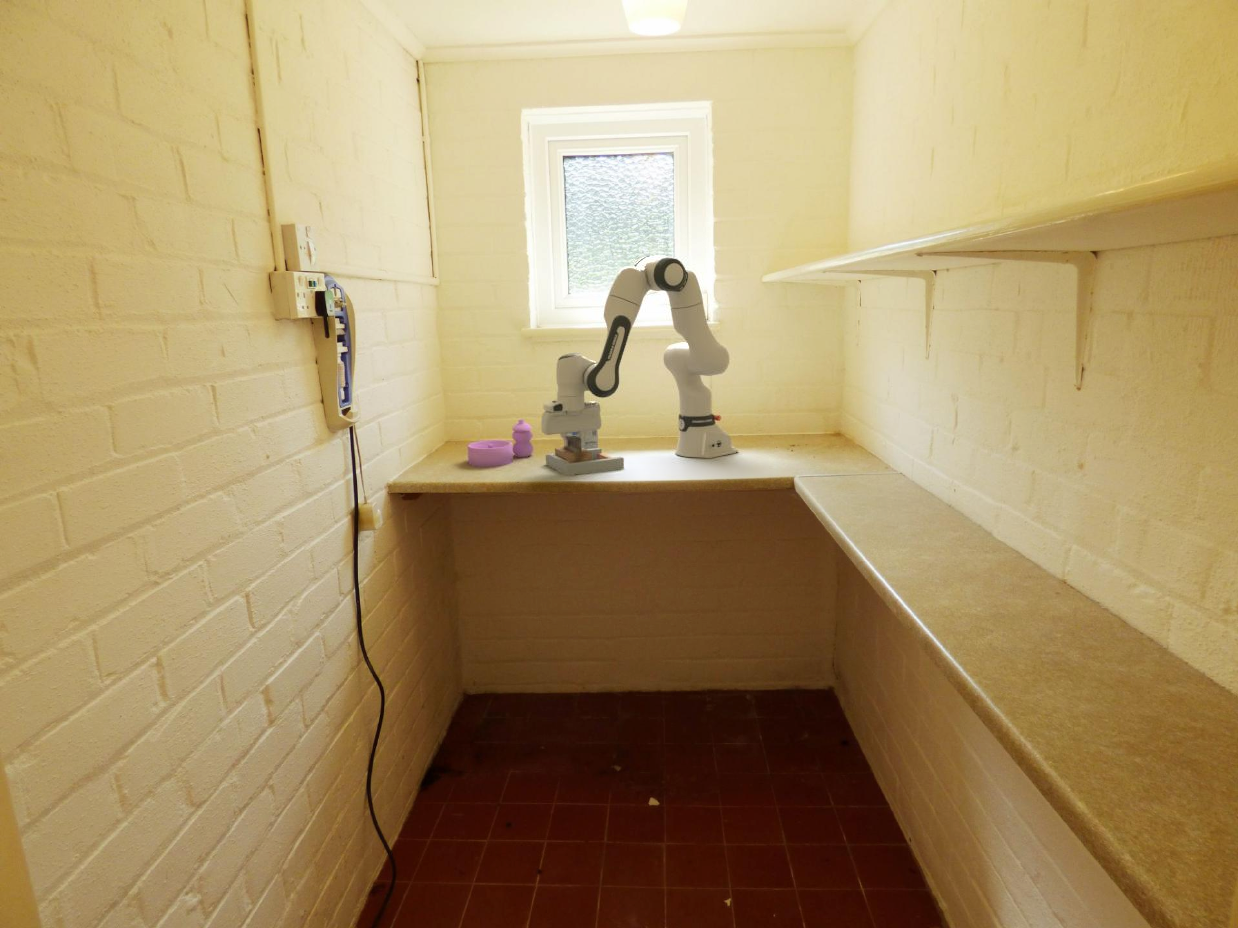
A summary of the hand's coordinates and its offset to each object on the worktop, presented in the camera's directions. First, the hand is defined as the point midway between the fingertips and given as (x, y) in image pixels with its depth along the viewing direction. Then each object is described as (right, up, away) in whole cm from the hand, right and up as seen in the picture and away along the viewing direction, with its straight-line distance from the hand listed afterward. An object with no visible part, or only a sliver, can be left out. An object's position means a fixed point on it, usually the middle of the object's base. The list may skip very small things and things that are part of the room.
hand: (572, 445), depth 237 cm
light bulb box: (+2, -3, +22) cm, 23 cm away
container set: (-26, -5, +16) cm, 31 cm away
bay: (+4, -7, +3) cm, 9 cm away
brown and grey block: (0, -7, +2) cm, 8 cm away
